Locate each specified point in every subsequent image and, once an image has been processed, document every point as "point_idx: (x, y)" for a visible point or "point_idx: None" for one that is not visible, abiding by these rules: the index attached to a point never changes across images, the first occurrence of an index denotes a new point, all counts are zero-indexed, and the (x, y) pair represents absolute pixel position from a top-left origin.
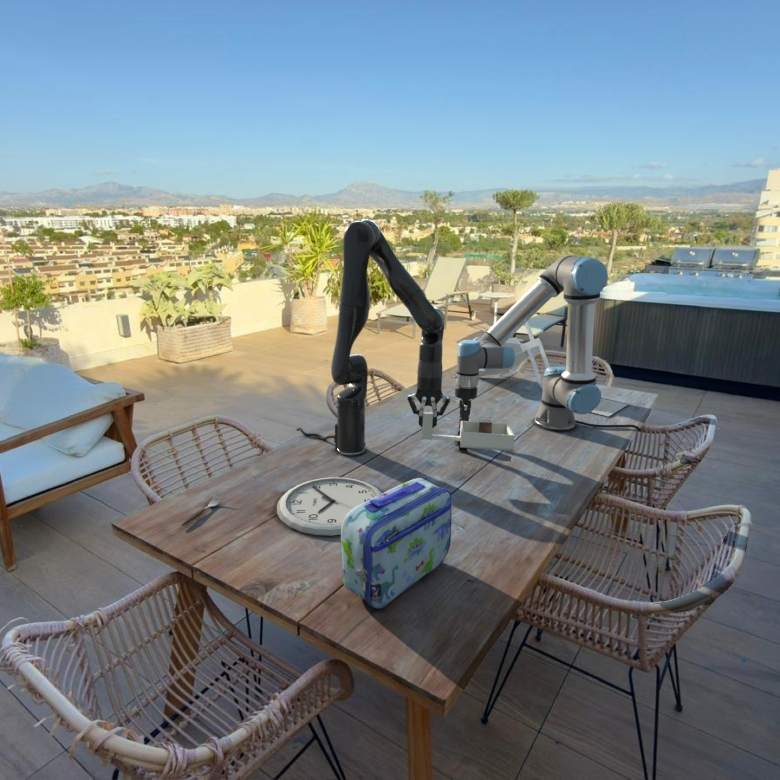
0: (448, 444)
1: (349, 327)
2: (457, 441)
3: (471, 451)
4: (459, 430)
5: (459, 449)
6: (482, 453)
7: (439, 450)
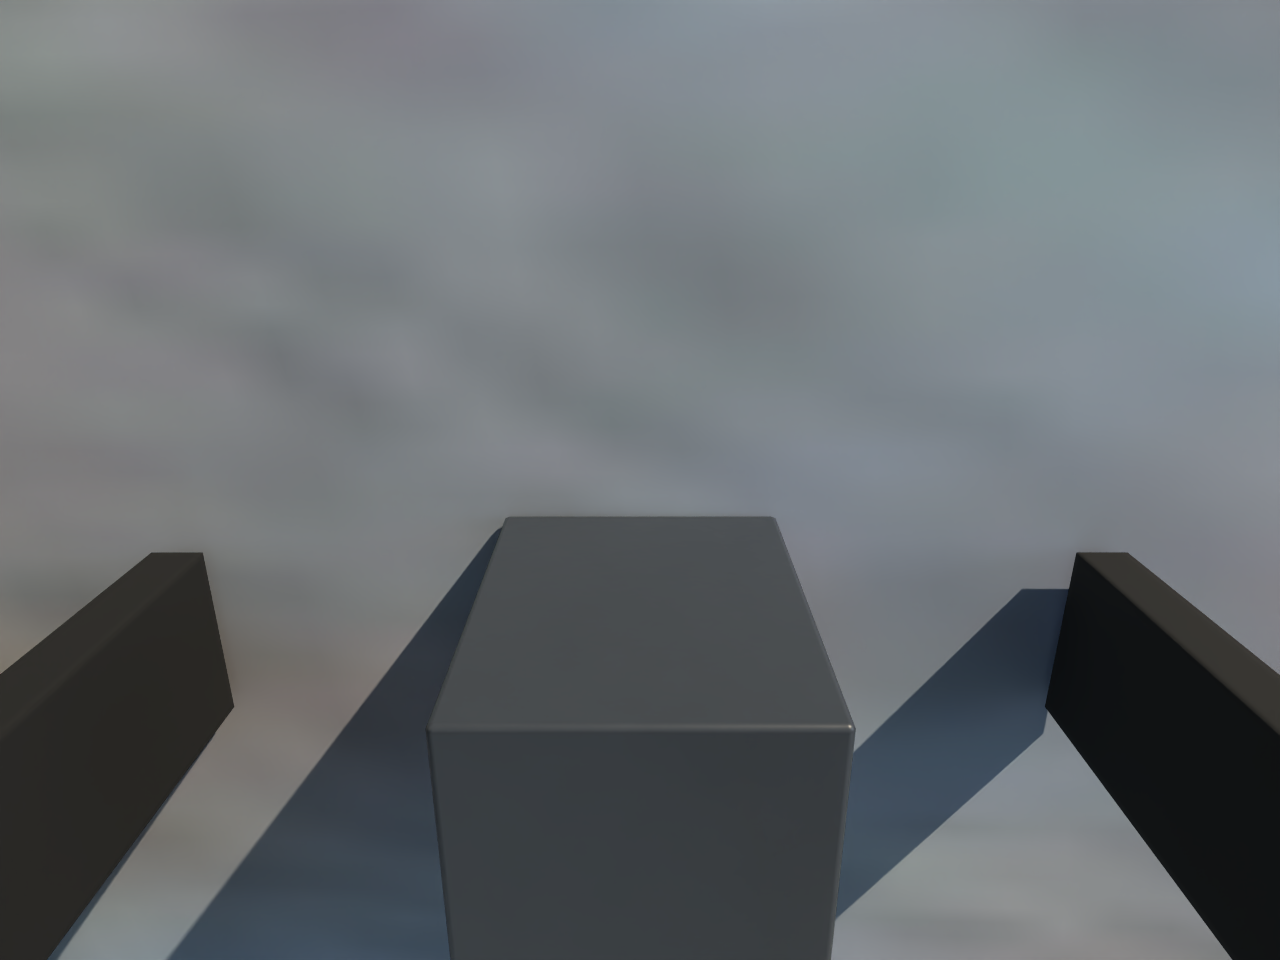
0: (519, 303)
1: None
2: (498, 556)
3: (255, 778)
4: (601, 771)
5: (135, 579)
6: (228, 941)
7: (41, 56)
